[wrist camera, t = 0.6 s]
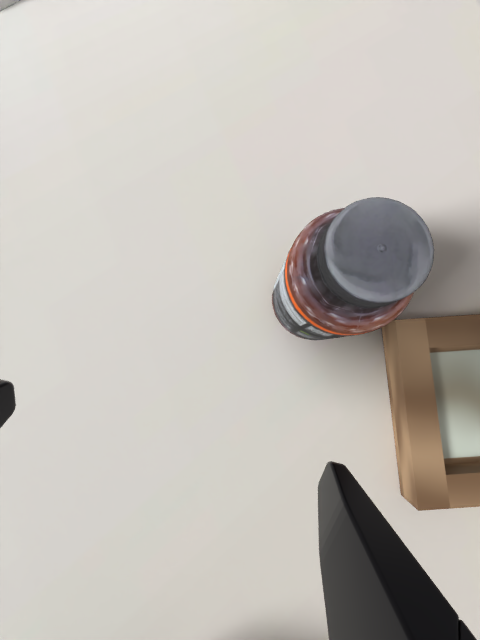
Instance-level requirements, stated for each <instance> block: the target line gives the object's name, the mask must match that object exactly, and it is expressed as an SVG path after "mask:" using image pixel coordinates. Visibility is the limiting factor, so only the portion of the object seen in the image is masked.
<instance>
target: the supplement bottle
mask: <svg viewBox="0 0 480 640" xmlns="http://www.w3.org/2000/svg"><path fill="white" fill-rule="evenodd" d="M433 258H434V247H433V241H432V237H431V234H430V232H429V229H428V227H427V225H426V224H425V222H424V221H423V219H422V218H421V217H420V216H419V215H418V214H417V213H416V212H415V211H414V210H413V209H412V208H410V207H408V206H407V205H405V204H403V203H401V202H399V201H396V200H393V199H388V198H380V197H375V198H367V199H363V200H359V201H356V202H354V203H352V204H350V205H348V206H347V207H346V208H341V209H337V210H332V211H329V212H327V213H324V214H323V215H320V216H318V217H317V218H315V219H314V220H312V221H311V222H310V223H309V224H308V225H307V226H306V227H305V228H304V229H303V230H302V232H301V233H300V234H299V235H298V237H297V238H296V240H295V241H294V243H293V245H292V247H291V249H290V251H289V253H288V255H287V258H286V260H285V262H284V264H283V266H282V269H281V271H280V273H279V275H278V278H277V280H276V283H275V286H274V289H273V294H272V304H273V309H274V312H275V315H276V317H277V319H278V320H279V322H280V323H281V325H282V326H283V327H284V328H285V329H286V330H287V331H289V332H290V333H292V334H294V335H296V336H298V337H300V338H304V339H310V340H323V339H330V338H338V337H344V336H351V335H358V334H364V333H368V332H371V331H374V330H376V329H379V328H381V327H383V326H385V325H387V324H388V323H390V322H391V321H393V320H394V319H395V318H396V317H398V316H399V315H400V314H401V313H402V311H403V310H404V309H405V308H406V306H407V305H408V304H409V302H410V300H411V298H412V296H413V294H414V292H415V291H416V290H417V289H418V288H419V287H420V286H421V285H422V284H423V283H424V281H425V280H426V278H427V277H428V274H429V272H430V270H431V267H432V264H433Z"/></svg>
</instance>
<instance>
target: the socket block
mask: <svg viewBox="0 0 480 640" xmlns="http://www.w3.org/2000/svg"><path fill="white" fill-rule="evenodd" d="M382 335H383V344H384V353H385V361H386V370H387V378H388V387H389V395H390V404H391V413H392V421H393V430H394V438H395V447H396V456H397V464H398V473H399V481H400V490H401V495H402V496H403V497H404V498H405V499H406V500H407V501H408V502H409V503H411V504H412V505H413V506H414V507H415V508H416V509H417V510H418V511H420V510H435V509H449V508H464V507H479V506H480V314H476V315H461V316H446V317H432V318H417V319H402V320H393V321H391V322H390V323H388V324H387V325H385V326H383V327H382Z"/></svg>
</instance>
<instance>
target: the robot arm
mask: <svg viewBox="0 0 480 640" xmlns="http://www.w3.org/2000/svg"><path fill="white" fill-rule="evenodd" d="M15 406H16V403H15V394H14V386H13V384H12V383H11V382H9V381H5V380H1V379H0V428H1V427H2V426H3V424H4V423H5V422H6V421H7V420H8V418H9V417H10V416H11V415H12V414H13V412H14V410H15ZM318 523H319V555H320V566H321V574H322V583H323V591H324V599H325V608H326V616H327V625H328V633H329V640H477V639H476V638H475V637H474V635H473V634H472V633H471V631H470V630H469V629H468V627H467V626H466V625H465V624H464V622H463V621H462V620H459V617H458V614H457V613H456V612H455V610H454V609H453V608H452V606H451V605H450V604H449V603H448V601H447V600H446V599H445V597H444V596H443V595H442V593H441V592H440V591H439V589H438V588H437V587H436V585H435V584H434V583H433V581H432V580H431V579H430V577H429V576H428V575H427V573H426V572H425V571H424V569H423V568H422V567H421V565H420V564H419V563H418V561H417V560H416V559H415V557H414V556H413V555H412V553H411V552H410V551H409V550H408V548H407V547H406V546H405V544H404V543H403V542H402V540H401V539H400V538H399V536H398V535H397V534H396V532H395V531H394V530H393V528H392V527H391V526H390V524H389V523H388V522H387V520H386V519H385V518H384V516H383V515H382V514H381V512H380V511H379V510H378V508H377V507H376V506H375V504H374V503H373V502H372V501H371V499H370V498H369V497H368V495H367V494H366V493H365V491H364V490H363V489H362V487H361V486H360V485H359V483H358V482H357V481H356V479H355V478H354V477H353V475H352V474H351V473H350V471H349V470H348V469H347V467H346V466H345V465H343V464H340V463H336V462H332V461H330V462H328V463H327V465H326V467H325V470H324V472H323V474H322V477H321V479H320V481H319V485H318Z"/></svg>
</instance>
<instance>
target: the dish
mask: <svg viewBox="0 0 480 640" xmlns="http://www.w3.org/2000/svg"><path fill="white" fill-rule="evenodd" d="M18 1H20V0H0V11H1V10H3V9H5V8H7V7H8V6H10V5H12V4H14V3H16V2H18Z"/></svg>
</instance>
